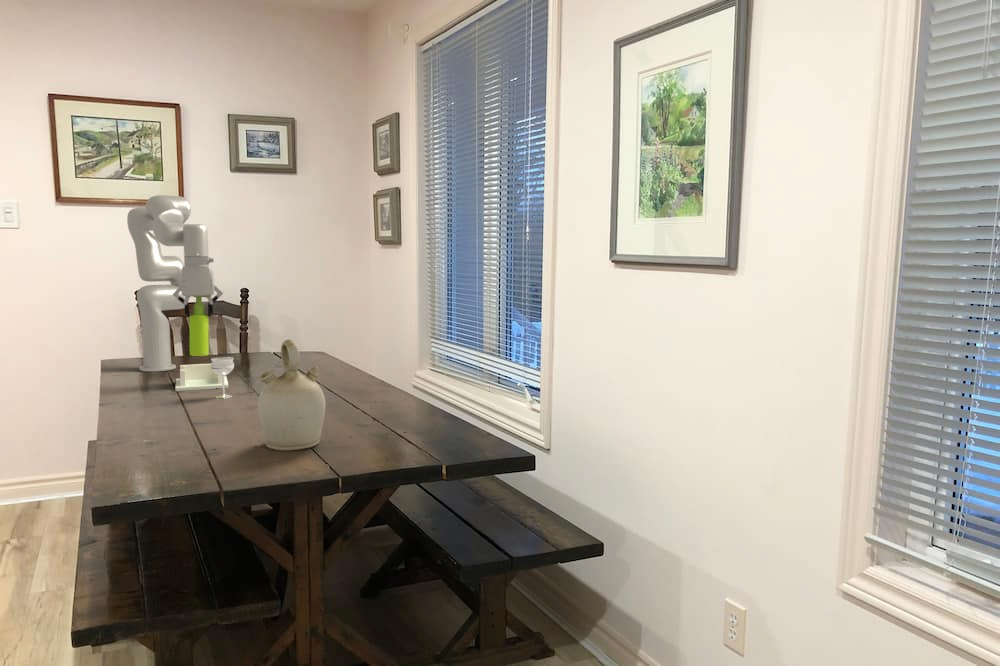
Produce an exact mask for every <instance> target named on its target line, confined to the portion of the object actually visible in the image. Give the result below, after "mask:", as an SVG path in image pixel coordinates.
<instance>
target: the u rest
mask: <svg viewBox="0 0 1000 666" xmlns="http://www.w3.org/2000/svg"><path fill="white" fill-rule="evenodd" d="M174 388H175V392H183V391H184V392H185V391H186V392H187V391H199V390H201V391H202V390H213V389H214V390H215V389H216V388H218V389H223V386H222V377H221V376H220V375H218V374H216V373H215V372H214V371H213V370H212V368H211V363H197V364H195V363H194V364H180V365H179V378H176V379H175V387H174ZM228 388H229V381H228V377H227V375H226V376H225V377H224V389H228Z"/></svg>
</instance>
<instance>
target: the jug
mask: <svg viewBox="0 0 1000 666" xmlns="http://www.w3.org/2000/svg"><path fill="white" fill-rule="evenodd" d="M280 356H281V357H280V360H281V363H282V366H283V369H284V371H283V373H282V374H281V375H279V376H278V377H276V375H275V370H274V369H272V368H271V369H270V368H269V369H267V370H265V371H264V372H262V373H261V374H260V375H259V377H258V380H259V382H262V383H264V384H265V386H264V387H263V388H262V390H261V392H260V395H259V397H258V402H257V411H258V412H257V413H258V417H259V421H260V425H261V428H262V429H261V430H262V434H263V438H264V440H265V441H264V442H265V445H266V447H267V448H268V449H270V450H275V451H284V452H285V451H288V452H291V451H298V450H300V451H301V450H305V449H310V448H312V447H314V446H318V445H319V444H320V438H321V436H322V430H323V425H324V421H325V413H326V406H327V405H326V397H325V394H324V392H323V390H322V388H321V386H320V385H319V384H318V383H317V382H316V380H317V379H318V378H319V370H320V368H319V367H318V366H316V365H315V366H313V367H312V368H311V369H308V370H306V371H307V372H306V374H301V373H300V372H299V368H300V358H301V357H300V352H299V348H298V345H297V344H296V342H295V341H294V340H292V339H286V340H284V341H283V342H282V344H281V347H280Z"/></svg>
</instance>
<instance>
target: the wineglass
mask: <svg viewBox="0 0 1000 666" xmlns="http://www.w3.org/2000/svg"><path fill="white" fill-rule="evenodd" d="M210 360H211V363H210V364H211V368H212V370H213V371H214V372H215V373H216V374H218V375H220V376H221V377H222V386H223V388H222V394H221V395H217V396H215V397H216V398H215V399H218V398H224V399H230V397H231V398H233V395H230V394H226V393H225V388H224V377H225V376H226V377H227V375H229V374H230V373H231V372H232V371H233V370H234V368H235V362H234V357H233V356H232V357H231V356H217V357H212V358H210Z"/></svg>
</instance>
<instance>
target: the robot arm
mask: <svg viewBox="0 0 1000 666" xmlns="http://www.w3.org/2000/svg"><path fill="white" fill-rule="evenodd" d="M191 209H192V208H191V203H190V202H189V200H188V199H187V198H185V197H183V196H181V195H163V194H161V195H158V194H157V195H154V196H151V197H149V198H148V200H146V203H145V206H143V207H135V208H132V209H130V210H129V211H128V213H127V217H126V218H127V220H126V222H127V228H128V231H129V234H130V236H131V238H132V240H133V243H134V248H135V257H136V262H137V270H138V276H139V278H140V279H141V281H144V282H151V283H152V282H169V283H170V284H150V285H149V284H148V285H145V286H141V287H140V288H138V290H137V293H136V299H137V301H136V302H137V305H138V309H139V314H140V315H139V316H140V326H141V328H140V329H141V339H142V341H141V342H142V343H141V344H142V361H143V362H142V363H143V364H142V365H140V366H139V367H138V370H139V371H140V372H146V373H147V372H154V373H155V372H164V371H171V370H175V369H176V368H177V365H176V364H173V363H172V353H171V352H172V351H171V332H170V331H171V330H170V322H169V321H170V320H169V319H168V318H167V316H166V315H165V314H164V313H163V312H162V311H171V310H172V311H174V310H182V309H184V315H185V316H187V318H189V317H190V315H191V314H190V304H189V300H190V298H191V297H194V296H209V298H206V299H207V300H208V301H207V302H208V304H207V311H208V312H207V315H208V318H211V317H212V316H211V314H212V315H213V314H214V312H213V311H214V310H213V309H214V308H213V304H214V303H216V301H218V299H219V298H221V296H223V291H222V290H220V289H219V288H218V287H217V286H216V285H215V279H214V273H213V268H212V266H211V265H210V264H211V263H214V258H211V257H209V236H208V235H209V234H208V233H209V232H208V227H207V226H206V225H205V224H202V223H200V224H199V223H196V224H195V223H187V221H188V220H189V217H190V216H191V211H192V210H191ZM151 231H152V232H153V233H151ZM161 245H163V246H164V247H183V259H184V260H183V261H182V259H181V258H180V257H179V256H175V255H163V253H162V249H161V247H162V246H161ZM215 292H216V294H215ZM214 294H215V295H214ZM213 295H214V297H212V296H213Z"/></svg>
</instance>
